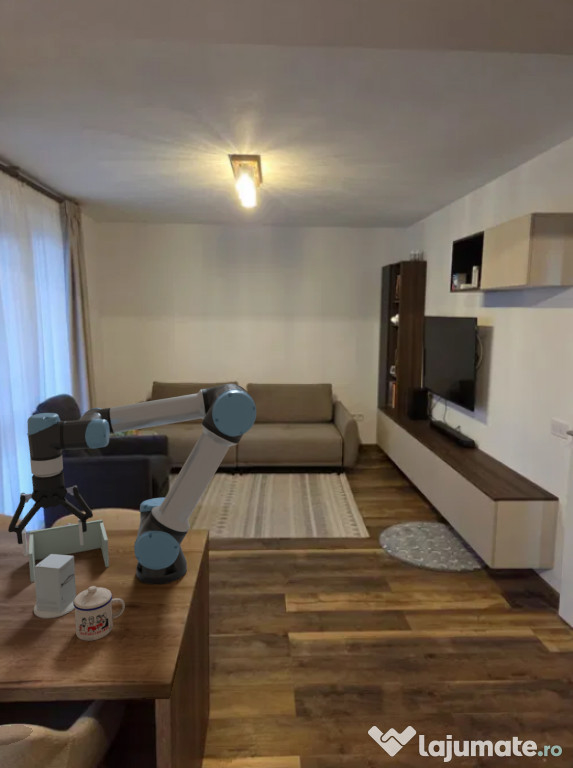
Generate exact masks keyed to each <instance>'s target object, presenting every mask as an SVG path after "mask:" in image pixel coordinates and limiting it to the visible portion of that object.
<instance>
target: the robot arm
mask: <svg viewBox="0 0 573 768" xmlns="http://www.w3.org/2000/svg"><path fill="white" fill-rule="evenodd" d="M256 418H257V405H256V403H255V401H254V398H253V397H252V396H251V394H249V393H248V391H247V389H245V388H244V387H243V386H241V385H239V384H235V383H226V384H220V385H216V386H212V387H206V388H201V389H200V390H199V391H198V392H197V393H192V394H185V395H180V396H179V395H178V396H174V397H169V398H161V399H155V400H149V401H143V402H135V403H129V404H123V405H118V406H112V407H106V408H102V407H101V408H100V407H94V408H91V409H89V410H87V411H85V412H84V413H83V414H82V416H81V417H80V418H79V419H78V420H77V419H76V420H61V418H60V416H59V414H58V413H55V412H42V413H35V414H32V415H31V416H28V418H27V434H26V435H27V438H28V439H27V441H28V448H29V461H30V470H31V474H32V476H31V481H32V493H25V492H21V493H20V495H19V503H18V505H17V506H16V510H15V511H14V514H13V516H12V518H11V520H10V523H9V525H8V529H7V530H8V533H16V539H17V540H16V541H17V544H18V545H22V549H23V550H22V551H23V557H28V554H29V550H28V543H27V542H28V541H27V533H26V532H27V531H26V526H27V525H28V524H29V523H30V522H31V520H32V519H33V517H34V516H35V515H36V514H37V512H39V511H40V509H41V508H42V509H49V508H57V507H58V506H61V507H63V508H65V509H66V510H67V511H68V512H69V513H72V514H73V515H74V516H75V517H76V518H78V519H77V521H78V522H77V523H78V524H79V536H80V545H83V532H86V531H87V525H86V522H87V520H89V519H91V518H93V517H94V515H93V514H94V513H93V511H92V510H91V508H90V506H88V503H87V502H86V501H85V500H84V498H83V497H82V494H80V492H79V488H78V485H77V484H73V485H72V486H70V487H66V485H65V476H64V475H65V474H64V471H63V469H64V463H63V451H65V450H66V451H67V450H84V449H85V450H86V449H89V450H90V449H91V450H92V449H93V450H94V449H98V448H105V447H107V446H108V445H109V443H110V437H111V435H112V434H117V433H123V432H129V431H134V430H140V429H147V428H153V427H159V426H165V425H170V424H175V423H176V424H177V423H183V422H187V421H193V420H200V419H202V421H201V423H200V425H201V429H202V432H201V434H200V436H199V437H198V440H196V443H195V444H194V446H193V448H192V450H191V452H190V453H189V455H188V457H187V458H186V460H185V462H184V464H183V465H182V467H181V469H180V471H179V473H178V474H177V476H176V478H175V480H174V482H173V483H172V485H171V487H170V488H169V490H168V492H167V493H166V495H165V497H154V498H151V499H150V498H149V499H146V500H143V501H142V502H141V503H140V505H139V515H140V518H139V519H140V520H139V521H140V522H139V526H138V530H137V535H136V539H135V541H134V546H133V550H134V556H135V558H136V560H137V563H136V567H135V568H136V569H135V570H136V578H137V579H138V581H140V582H141V583H144V584H147V585H165V584H169V583H172V582H173V583H174V582H175V581H178V580H179V579H181V578H183V576H184V575H185V574H186V572H187V570H188V566H187V564H188V563H187V562H188V561H187V559H186V556H185V554H184V551H183V549H182V542H183V540H184V539H185V537H186V535H187V534H188V532H189V530H190V528H191V527H190V522H189V519H190V517H191V516H192V514H193V512H194V511H195V509H196V507H197V505H198V503H199V502H200V501H201V498H202V497H203V494H204V493H205V491H206V489H207V488H208V486H209V484H210V483H211V481H212V479H213V478H214V475H215V473H216V472H217V470H218V469H219V467H220V465H221V463H222V462H223V460H224V459H225V456H226V454H227V453H228V451H229V450H230V447H233V446H236V445H238V444H239V443H240V441H241V439H242V438H243V437H244V435H245V434H246V433H247V432H249V430H251V429H252V427H253V426H254V424H255V421H256ZM67 494H70V496H74V498H75V500H76V502H77V503H78V504H79V506H80V507H81V508H82V510H83V511H84V512H82V510H80V509H79V508H78V507H76V506H75V505H74V504H73V503H71V502H69V500H68V499H67V498H66V496H67ZM30 500H32V501H34V504H33V505H32V507H31V508H30V510H29V511H28V512H27V513H26V514H25V516H24V517H23V518H22V519H21V521H20V522H19V518H20V517H21V515H22V513H23V510H24V508H25V505H26V504H27V503H29V501H30ZM18 522H19V524H18ZM17 524H18V525H17Z"/></svg>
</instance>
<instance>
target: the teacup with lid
mask: <svg viewBox="0 0 573 768" xmlns="http://www.w3.org/2000/svg"><path fill="white" fill-rule="evenodd" d="M115 603H120V604H121V608H120V609H119V611H118V612H116V613H113V609H112V608H113V605H112V604H115ZM125 603H126V602H125V601H124V600H123V599H122V598H120V597H116V598H113V594H112V592H111V590H109V589H108V588H106V587H97V586H96V585H92V586H89V587H88V589H85V590H82V591H81V592H79V593H78V594H76V597H75V599H74V602H73V605H74V607H75V609H74V619H75V622H74V623H75V634H76V637H77V638H78V639H80V640H81V641H84V642H87V641H97V640H99V639H102V638H104V637H106V636H108V635H109V634H110V632H111V631H112V629H113V623H114V622H113V620H114V619H117V618H118V617H120V616H121V615H122V614H123V612H124V611H125V608H126V607H125V606H126V604H125Z"/></svg>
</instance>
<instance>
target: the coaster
mask: <svg viewBox="0 0 573 768" xmlns="http://www.w3.org/2000/svg"><path fill="white" fill-rule="evenodd" d="M73 602H74V600H73V601H72V602H71V603H70V604H69V605H68V606H67V607H66V608H65V609H64V610H63V611H62V612H61V613H58V612H49V611H41V610H37V605H36V604H35V605H34V607H33V613H34V615H35V617H38V618H40V619H55V618H58V617H59V618H60V617H62V616H65V615H67V614H69V613H71V612H72V611H75V607H74V605H73Z"/></svg>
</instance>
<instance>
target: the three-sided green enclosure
mask: <svg viewBox="0 0 573 768" xmlns="http://www.w3.org/2000/svg"><path fill="white" fill-rule="evenodd" d="M70 524H71V525H66V524H64V525H65V526H63V525H59V526H55V527H49V528H48V527H47V528H42V529H41V528H40V529H35V530H30V531H29V541H28V542H29V543H28V563H29V578H30V583H35V574H34V566H36V561H37V560H38V561H39V560H44V559H45V558H46V557H48V556H49V555H50V554H58V555H70V554H75V553H81V552H86V551H92V550H98V549H101V553H102V558H103V561H104V566H105V568H108V567H110V559H109V539H108V535H107V532H106V528H105V525H104V520H103V519H97V520H91V521H86V525H87V531H86V532H83V545H80V536H79V524H78V522H77V523H70Z"/></svg>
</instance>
